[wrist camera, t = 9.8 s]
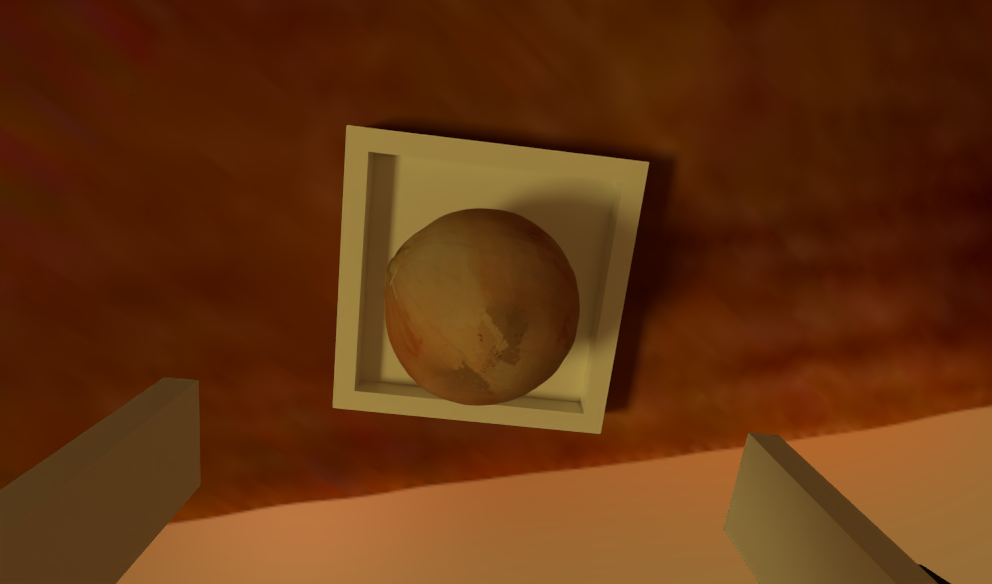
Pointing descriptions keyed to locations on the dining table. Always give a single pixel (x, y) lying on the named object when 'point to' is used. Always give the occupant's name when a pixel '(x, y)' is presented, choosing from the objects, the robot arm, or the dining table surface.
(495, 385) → the onion
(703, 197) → the dining table surface
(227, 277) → the dining table surface
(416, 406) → the dish
